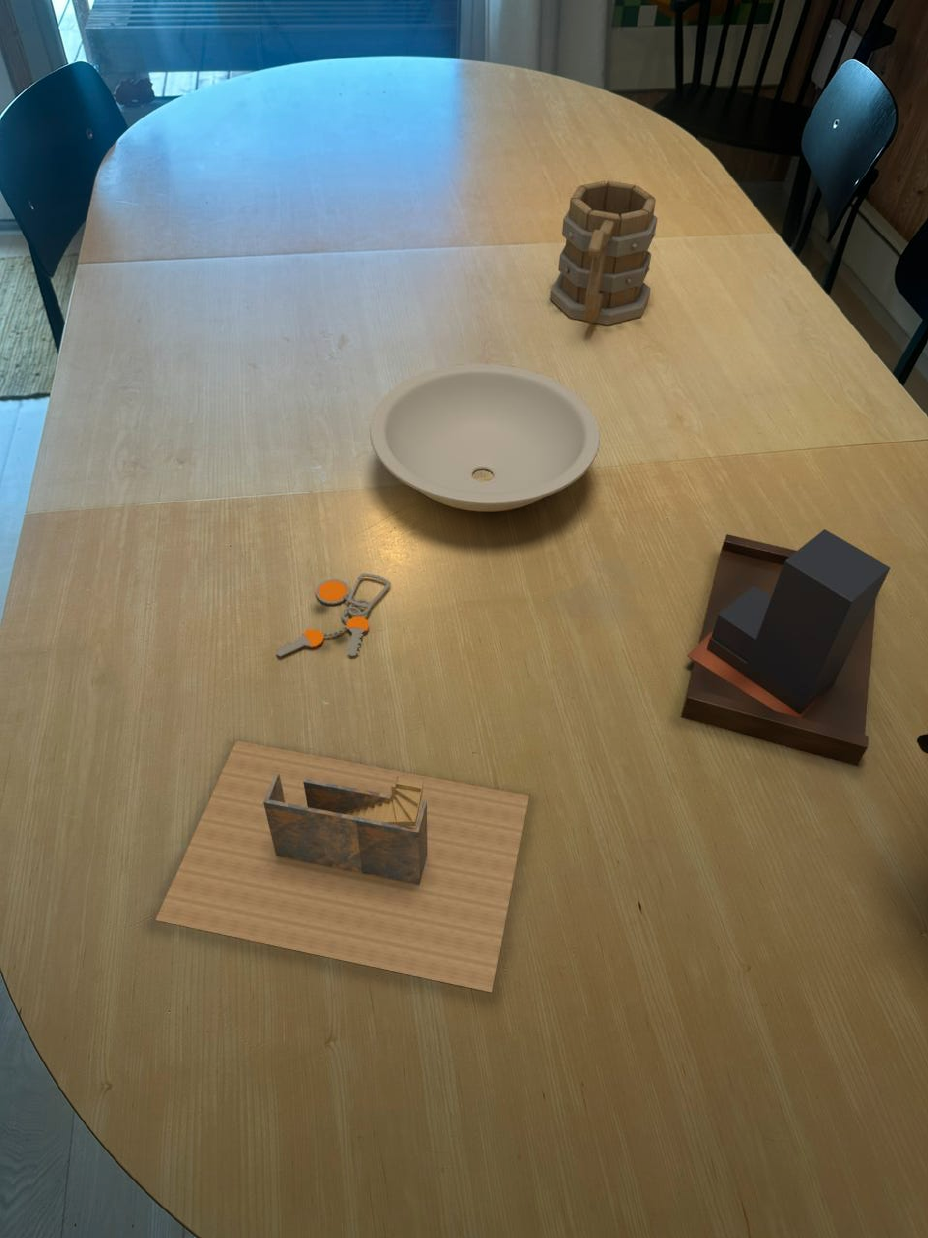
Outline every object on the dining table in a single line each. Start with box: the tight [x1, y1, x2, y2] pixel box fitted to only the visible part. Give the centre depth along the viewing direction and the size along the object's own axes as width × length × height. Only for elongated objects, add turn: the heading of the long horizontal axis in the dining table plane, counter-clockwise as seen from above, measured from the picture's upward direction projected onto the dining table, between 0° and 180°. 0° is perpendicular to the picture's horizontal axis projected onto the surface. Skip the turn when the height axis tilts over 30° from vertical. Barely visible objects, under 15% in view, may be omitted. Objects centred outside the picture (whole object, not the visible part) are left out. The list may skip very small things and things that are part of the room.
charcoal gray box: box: [707, 528, 891, 714], centre depth 81 cm, size 10×6×14 cm, turn 43°
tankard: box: [549, 179, 658, 326], centre depth 124 cm, size 20×13×15 cm, turn 162°
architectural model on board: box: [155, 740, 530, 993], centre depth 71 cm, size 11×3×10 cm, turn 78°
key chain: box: [275, 572, 392, 658], centre depth 91 cm, size 13×7×1 cm, turn 158°
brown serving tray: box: [680, 533, 877, 766], centre depth 89 cm, size 16×22×3 cm
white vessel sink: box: [369, 363, 601, 513], centre depth 103 cm, size 24×24×7 cm
